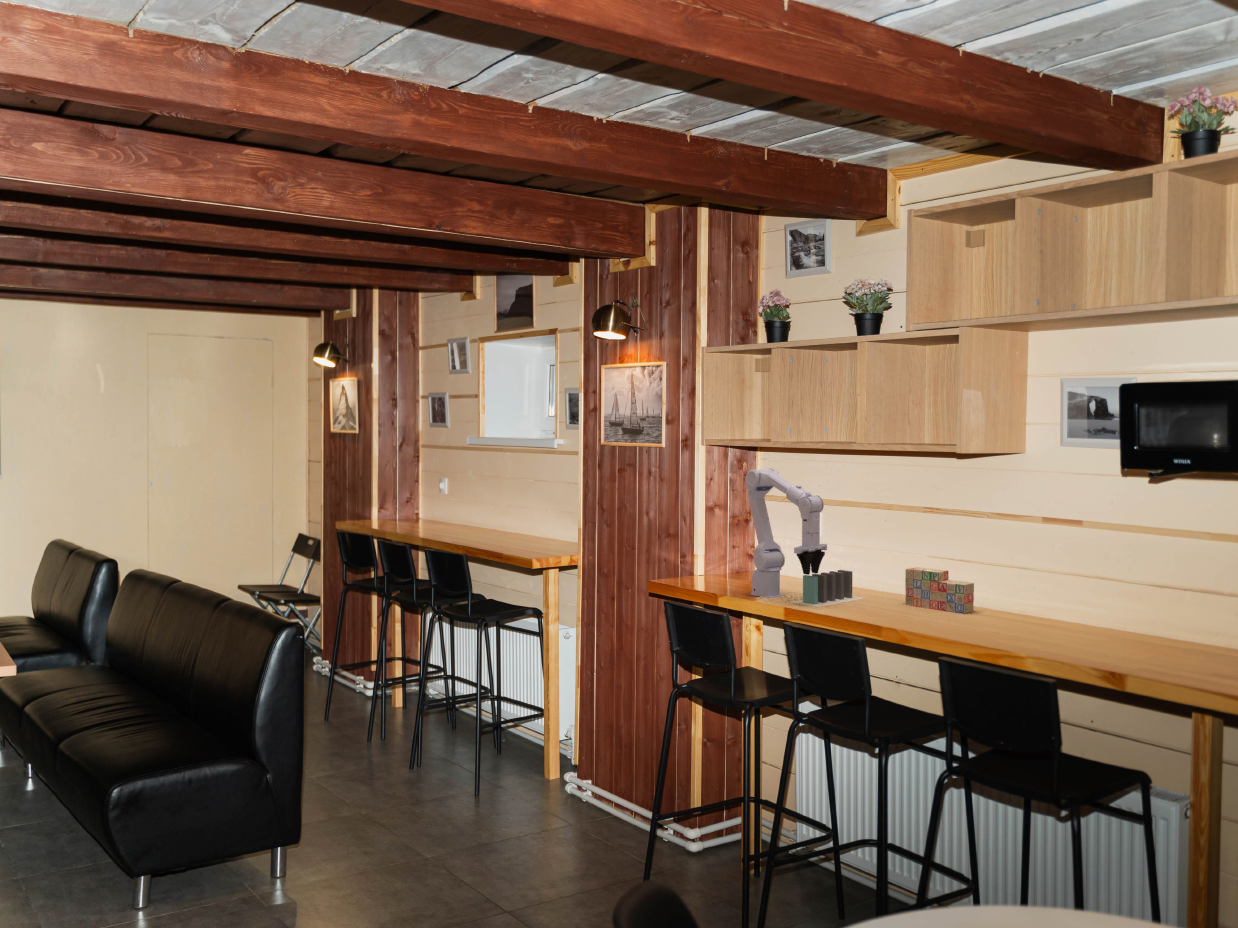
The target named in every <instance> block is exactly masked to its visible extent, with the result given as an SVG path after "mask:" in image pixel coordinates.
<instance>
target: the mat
mask: <svg viewBox="0 0 1238 928" xmlns="http://www.w3.org/2000/svg"><path fill="white" fill-rule="evenodd" d="M864 599H865V597H860V596H854V595H852V598H845V597H844V599H842V600H839V599H835V601H827V602H826V603H821V602H818V604H809V603H803V599H799V600H793V601H790V603H793V604H799V605H803V606H810V607H816V608H821V607H827V606H831V605H836V604H842V603H847V602H852V601H859V600H864Z"/></svg>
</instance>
